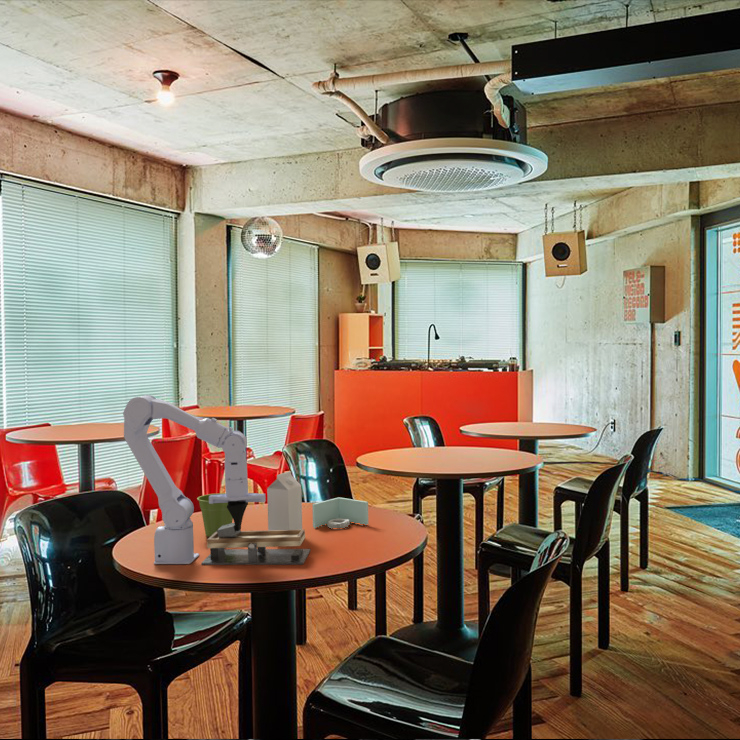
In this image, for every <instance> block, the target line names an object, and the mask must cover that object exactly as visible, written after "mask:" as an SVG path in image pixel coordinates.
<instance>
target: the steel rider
mask: <svg viewBox="0 0 740 740" xmlns="http://www.w3.org/2000/svg"><path fill="white" fill-rule="evenodd" d="M241 531H242V530H241V529H240V530H239V531H236V526H235V523H234V522H232V523H231V524H227V525H223V526H221V527H220V528H219V529H218V530H217V533H218V537H219V538H236V537H237V536H238V535H239V534H240V533H241Z"/></svg>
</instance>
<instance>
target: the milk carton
mask: <svg viewBox="0 0 740 740" xmlns="http://www.w3.org/2000/svg"><path fill="white" fill-rule="evenodd" d="M266 492H267V497H266V498H267V500H266V501H267V530H303V506H302V504H303V502H302V484H301V483H300V482H298V481H297V479H296V478H295V477H294V476H293V475H292V471H291V470H289V471H286V472H282V473H280V474H276V479H275V480H274V481H273V482H272V483H271V484H270V485H268V487H267V488H266Z"/></svg>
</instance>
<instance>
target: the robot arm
mask: <svg viewBox="0 0 740 740" xmlns="http://www.w3.org/2000/svg"><path fill="white" fill-rule="evenodd" d="M122 414H123V438H124V440H125V442H126V444H127V445H128V447H129V449H130V451H131V453H132V454H133V455H134V458H135V459H136V461H137V463H138V465H139V466H140V469H141V470H142V472H143V473H144V475H145V477H146V479H147V480H148V482H149V484H150V485H151V488H152V489H153V490H154V491H153V492H154V493H155V494H156V496H157V499H158V507H159V509H160V510H161V515H162V516H161V519H162V521H163V524H164V526H163V525H160V526H158V527H156V529H155V531H154V538H153V543H154V544H153V545H154V549H153V551H154V562H153V564H154V565H190V564H191V563H192V562H194V561H195V560H196V559H197V558H198V557H199V556H200V553H197V552H196V553H195V552H194V550H195V548H194V547H195V546H194V544H195V543H194V522H193V521H192V519H191V516H193V513H194V509H195V507H194V503H193V502H192V501H191V499H190V498H188V497H186V496H185V494H184V493H183V491H182V490H181V489H180V488H178V487H177V486H176V484H175V483H174V481H173V478H172V477H171V475H170V474H169V472H168V470H167V469H166V466H165V465H164V463H163V462H162V460H161V457H160V456H159V454H158V453H157V451H156V450H155V449H156V448H154V445H153V444H152V442H151V441H150V439H149V437H148V435H147V433H148V430H149V429H150V428H149V427H150V425H151V423H152V422H153V420H160V419H167V420H169V421H170V422H171V421H172V422H174V423H176V424H178V425H181V426H183V427H184V428H188V429H190V430H192V431H194V432H195V436H196V437H197V439H200V440H201V441H204V442H206V443H208V444H209V445H211V446H214V447H216V448H218V449H222V451H223V453H224V481H225V493H226V494H219V493H218V494H219V495H210V496H209V504H213V503H228V505H227V509H228V510H229V512H230V514H231V516H232V518H233V520H232V521H233V523H235V526H236V531H239V530H241V529H242V523H243V518H244V514H245V511H246V510H247V509H246V508H247V507H248V506H249V505H248V504H249V503H265V502H266V501H267V500H266V493H254V492H249V485H248V484H249V482H248V461H247V452H246V450H245V449H246V448H247V444H248V441H247V437H246V435H245V433H243V432H241V431H240V430H234V427H231V426H229V427H227V426H225V425H223V424H221V423H219V422H217V421H218V419H216V418H214V417H212V418H210V417H205V418H203V419H200V418H198V417H196V416H194V415H192V414H191V413H189V412H187V411H185V410H183V409H181V408H179V406H178V407H177V406H176V405H174V404H173V403H170V402H168V401H166V400H163V399H160V398H156V397H155V396H153V395H151V394H144V395H142V396H135V397H133V398H131V399H130V400H129V401H127V403H126V406H125V408H124V410H123V412H122Z"/></svg>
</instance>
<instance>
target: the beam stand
mask: <svg viewBox="0 0 740 740" xmlns="http://www.w3.org/2000/svg"><path fill="white" fill-rule="evenodd" d="M209 549H210V551H209V552H210V553H209V554H208V555H207V557H206V558H205V559H203V560H202V561H201V562H200V564H201V566H203V565H204V564H205V565H206V566H208V565H209V566H224V565H225V566H236V565H238V566H240V565H241V566H244V565H245V566H247V565H248V566H252V565H253V566H254V565H255V566H256V565H258V566H261V565H263V566H264V565H265V566H266V565H267V566H273V565H274V566H275V565H276V566H280V565H283V566H284V565H285V566H287V565H288V566H290V565H291V566H292V565H293V566H296V565H298V566H299V565H302V566H303V565H304V564H305V562H306V560H307V558H308V556H309V554H310V552H311V548H281V549H280V548H267V547H257V543H249V544H248V547H247V548H245V549H244V548H241V549H238V548H228V549H227V548H209ZM205 565H204V566H205Z"/></svg>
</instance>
